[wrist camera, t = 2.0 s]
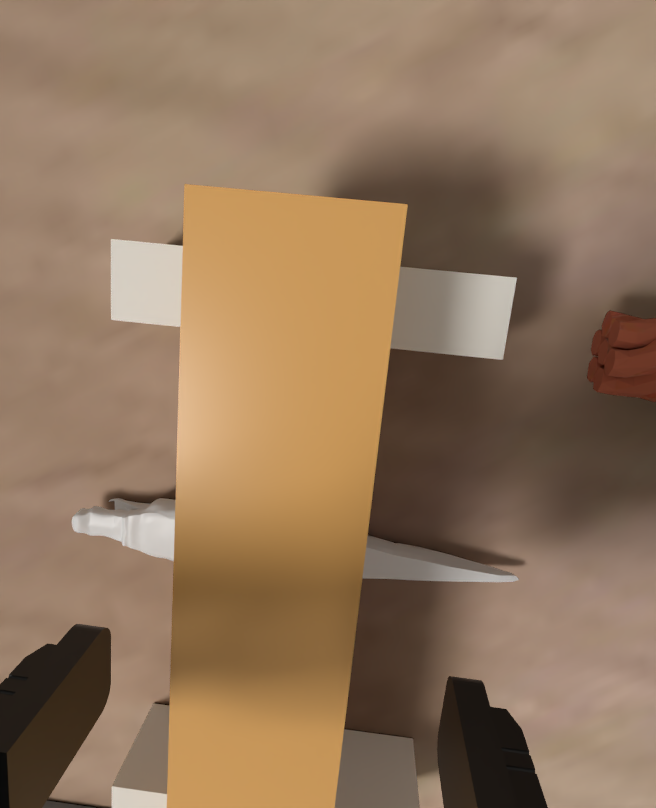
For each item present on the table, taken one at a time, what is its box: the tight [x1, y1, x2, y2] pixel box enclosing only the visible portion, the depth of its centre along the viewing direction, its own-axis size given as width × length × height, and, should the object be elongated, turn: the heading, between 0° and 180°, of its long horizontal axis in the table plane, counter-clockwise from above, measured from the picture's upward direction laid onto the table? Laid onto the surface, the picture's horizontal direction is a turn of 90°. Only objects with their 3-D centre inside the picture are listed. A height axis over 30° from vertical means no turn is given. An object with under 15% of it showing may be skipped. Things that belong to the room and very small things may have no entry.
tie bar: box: [167, 184, 408, 808], centre depth 14 cm, size 21×4×4 cm, turn 175°
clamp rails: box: [111, 239, 517, 808], centre depth 17 cm, size 19×10×4 cm, turn 175°
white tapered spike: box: [72, 498, 519, 582], centre depth 18 cm, size 15×3×2 cm, turn 83°
